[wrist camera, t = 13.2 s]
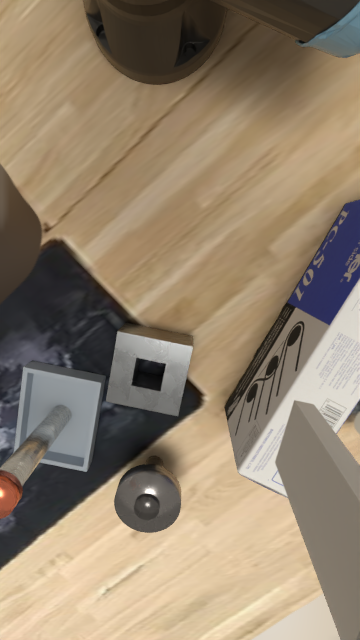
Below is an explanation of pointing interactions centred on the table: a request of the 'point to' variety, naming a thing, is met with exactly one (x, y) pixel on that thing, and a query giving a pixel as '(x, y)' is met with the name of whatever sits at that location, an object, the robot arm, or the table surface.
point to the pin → (29, 457)
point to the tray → (71, 391)
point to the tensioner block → (147, 387)
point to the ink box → (303, 356)
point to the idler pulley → (148, 497)
